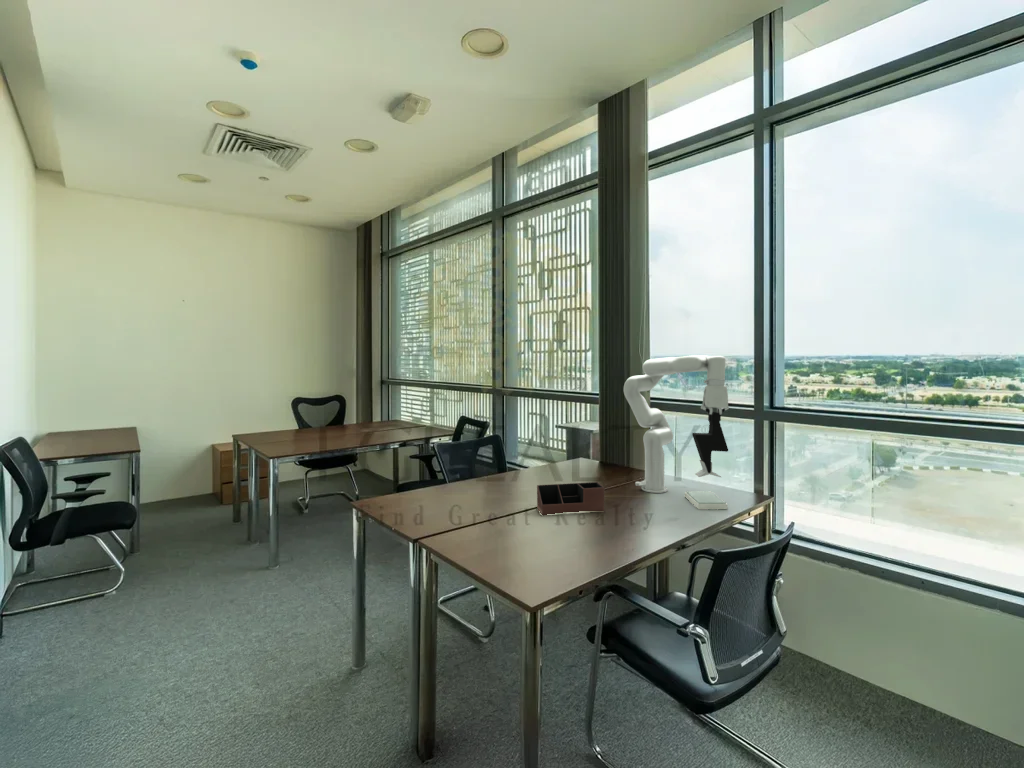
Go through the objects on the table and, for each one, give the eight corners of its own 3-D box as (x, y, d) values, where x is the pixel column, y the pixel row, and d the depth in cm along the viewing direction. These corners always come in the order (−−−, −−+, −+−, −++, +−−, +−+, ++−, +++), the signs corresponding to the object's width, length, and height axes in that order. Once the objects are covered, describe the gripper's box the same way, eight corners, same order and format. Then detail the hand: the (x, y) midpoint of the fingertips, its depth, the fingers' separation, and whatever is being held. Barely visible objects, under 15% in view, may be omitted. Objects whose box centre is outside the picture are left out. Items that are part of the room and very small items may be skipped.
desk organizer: (606, 512, 215) (605, 487, 214) (540, 517, 210) (540, 491, 210) (598, 505, 225) (598, 481, 225) (535, 509, 221) (535, 484, 220)
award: (722, 474, 229) (725, 410, 227) (727, 477, 224) (730, 412, 222) (690, 473, 230) (692, 410, 227) (694, 476, 224) (696, 412, 222)
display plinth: (697, 509, 217) (698, 502, 217) (684, 497, 236) (684, 491, 236) (727, 509, 216) (727, 502, 216) (712, 497, 235) (712, 491, 235)
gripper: (701, 383, 219) (699, 423, 221) (737, 383, 219) (735, 424, 220) (695, 382, 227) (693, 421, 228) (729, 382, 227) (728, 421, 228)
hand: (714, 422), depth 224 cm, fingers closed on award
